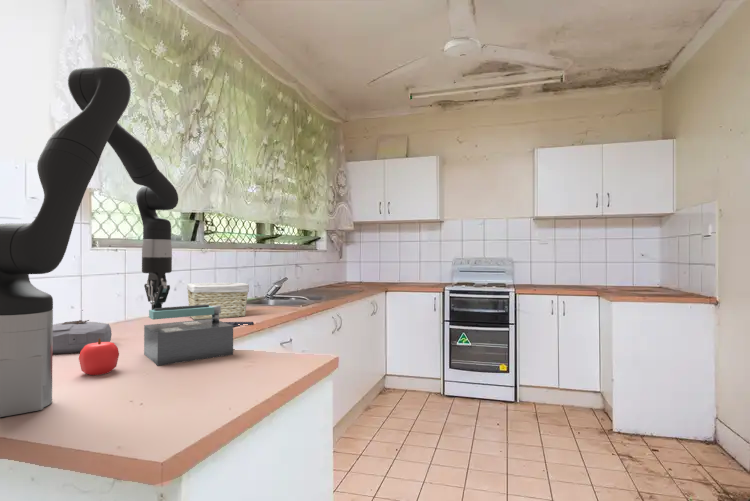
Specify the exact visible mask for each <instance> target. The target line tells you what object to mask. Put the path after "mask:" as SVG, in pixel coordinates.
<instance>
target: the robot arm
mask: <svg viewBox="0 0 750 501" xmlns="http://www.w3.org/2000/svg"><path fill="white" fill-rule="evenodd" d="M67 86H68V90H69V92H70V93H69V94H70V96H72V99H73V101H74V102H75V103H76V105H77V107H78V108H79V109H80V110H81V111H80V113H78V114H76V115H75V116H73V118H70V120H68V121H67V122H65V123H64V124H62V125H61V126H59V127H58V128H57V129H56V130H55V131H54V132H53V133H52V134H51V135H50V137H49V138H48V140H47V141H46V143H45V146H44V148H43V150H42V152H41V153H40V155H39V157H38V159H37V166H36V168H37V174H38V175H37V176H38V178H39V181H40V185H41V187H42V190H43V191H42V192H43V201H42V203H41V206H40V209H39V211H38V212H37V215H36V217H35V218H34V220H33V221H32V222H30V223H29V222H28V223H22V222H21V223H18V222H17V223H11V222H10V223H0V418H4V417H9V416H15V415H21V414H25V413H31V412H36V411H42V410H43V409H44V408H45V407H47V406H50V405H51V404H52V403H53V354H52V353H53V325H54V299H53V296H52V295H51V294H50V293H48V292H46V291H42V290H41V289H39V288H38V287H36V286H35V285H33V284H32V282H31V281H30V276H29V275H43V274H44V275H45V274H48V273H51V272H53V271H54V270H55V269H57V268H58V267H59V265H60V264H61V263H62V261H63V259H64V256H65V255H66V254H65V253H66V252H67V248H68V246H69V242H70V239H71V235H72V231H73V228H74V226H75V221H76V217H77V216H78V211H79V209H80V207H81V203H82V202H83V199H84V196H85V193H86V191H87V188H88V186H89V184H90V182H91V180H92V178H93V176H94V174H95V171H96V170H97V167H98V164H99V162H100V159H101V157H102V154H103V151H104V149H105V147H106V145H107V144H108V145H109V146H110V147H111V148H112V149H113V151H114V153H115V154H116V155H117V157H118V159H119V160H120V162H121V164H122V166H123V167H124V169H125V171H126V172H127V174H128V176H129V178H130V179H131V180H132V182H133V183H135V184H136V185H138V186H140V187H139V188H138V190H137V193H136V196H135V197H136V205H137V208H138V210H139V214H140V217H141V221H142V227H143V228H142V229H143V231H142V235H143V236H142V246H141V247H142V248H141V272H142V273H143V274H148V277H147V281H146V283H144V290H145V291H144V292H145V294H146V297H147V301H148V302H149V304H150V305H151V310H154V308H163V304H164V303H166V302H167V299H168V294H169V292H170V289H171V286H170V284H169V285H168V284H167V282H168V281H167V278H166V274H170V273H172V271H173V270H172V269H173V267H172V266H173V247H172V223H171V221H170V220H168V219H167V218H162V217H159V215H158V214H157V211H169V210H174V209H175V208H176V207H177V205H178V202H179V194H178V192H177V189H176V188H175V186H174V185H173V184H172V183H171V181H170V180H169V179H168V178H167V177H166V176H165V175H164V174H163V173H162V172H161V171H160V170H159V169H158V167H157V164H156V163H155V161H154V159H153V157H152V155H151V152H149V150H148V148H147V147H146V146H145V145H144V144H143V143H142V141H140V140H139V139H138V138H137V137H135V136H134V135H133V134H132V133H131V132H129V131H128V130H127V129H126V128H125V127H123V126H122V125H121V123H119V121H120V119H121V118H122V115H123V114H124V112H125V111H126V110H127V108H128V105H129V103H130V99H131V96H132V87H131V83H130V80H129V78H128V76H127V75H126V74H125V73H124V72H123V71H122V70H121V69H118V68H116V67H112V66H95V67H83V68H82V67H80V68H76V69H73V70H72V71H70V73H69V74H68V77H67Z"/></svg>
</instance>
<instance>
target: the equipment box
mask: <svg viewBox="0 0 750 501" xmlns="http://www.w3.org/2000/svg"><path fill="white" fill-rule="evenodd" d="M224 322H225V321H221V320H220V318H219V313H218V314H213V315H212V319H193V320H188V321H187V320H184V321H183V320H182V321H176V322H174V321H173V322H163V323H153V324H144V325H143V331H144V332H143V337H144V338H143V347H144V348H143V354H144V356H146V357H147V358H148V359H149V360H150V361H151V362H152V363H154V365H155V366H157V367H159V366H166V365H172V364H173V365H174V364H178V363H179V364H180V363H186V362H194V361H201V360H206V359H207V360H208V359H213V357H214V358H220V357H221V358H222V357H228V356H233V355H234V327H233V325H230V324H227V323H224Z"/></svg>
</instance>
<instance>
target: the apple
mask: <svg viewBox="0 0 750 501" xmlns="http://www.w3.org/2000/svg"><path fill="white" fill-rule="evenodd" d="M119 356H120V351H119V347H118V346H117V345H116V344H115V343H114V342H112V341H110V342H101V339H100V338H99V340H98V342H97V343H91V344H88V345H85V346H84V348H83V349H82V350H81V352H79V355H78V362H79V366H80V370H81V372H83V373H85V374H86V375H90V376H102V375H105V374H108V373H110V372H112V371H113V370H115V368H117V365H118V361H119Z"/></svg>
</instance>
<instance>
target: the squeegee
mask: <svg viewBox="0 0 750 501" xmlns="http://www.w3.org/2000/svg"><path fill="white" fill-rule="evenodd" d="M223 322H224V323H227V324H230V325H233V328H235V327H241V326H240V325H243V324H248V325H247V326H254V321H223ZM238 324H240V325H238Z"/></svg>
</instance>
